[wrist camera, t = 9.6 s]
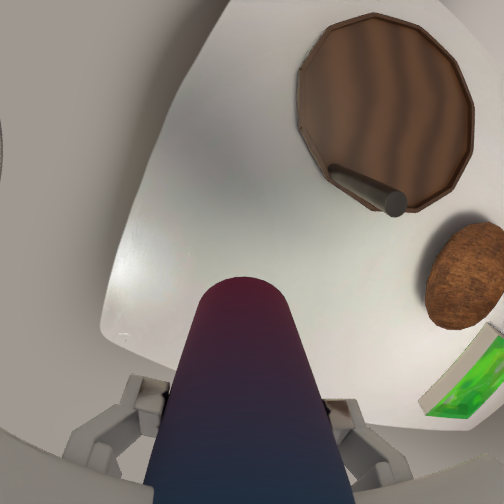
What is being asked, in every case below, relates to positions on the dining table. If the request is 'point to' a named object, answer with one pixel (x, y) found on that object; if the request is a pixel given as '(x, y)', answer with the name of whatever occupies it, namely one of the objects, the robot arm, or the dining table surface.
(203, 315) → the cup
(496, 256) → the bowl
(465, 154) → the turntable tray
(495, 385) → the green flat block
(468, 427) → the dining table surface
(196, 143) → the dining table surface
